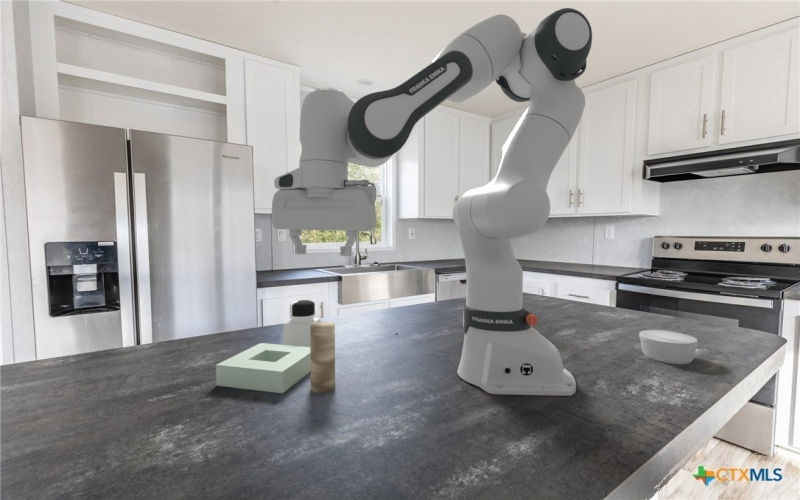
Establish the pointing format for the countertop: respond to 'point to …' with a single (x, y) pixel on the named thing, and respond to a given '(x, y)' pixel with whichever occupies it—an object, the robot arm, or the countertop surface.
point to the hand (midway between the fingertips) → (322, 255)
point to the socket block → (265, 368)
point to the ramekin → (668, 346)
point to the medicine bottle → (299, 323)
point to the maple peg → (322, 356)
